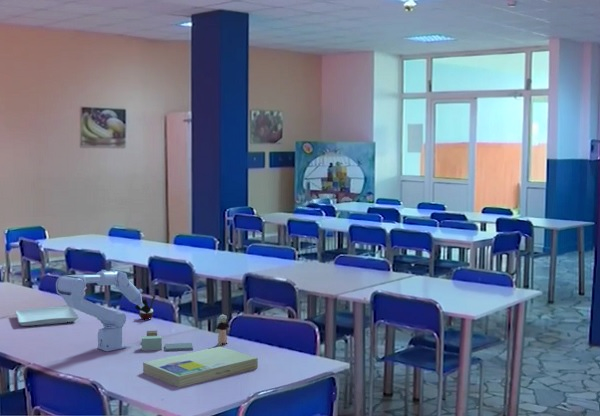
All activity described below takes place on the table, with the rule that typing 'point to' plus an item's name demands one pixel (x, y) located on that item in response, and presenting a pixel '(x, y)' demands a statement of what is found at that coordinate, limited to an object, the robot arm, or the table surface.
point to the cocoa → (149, 314)
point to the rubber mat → (178, 346)
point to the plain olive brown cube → (151, 333)
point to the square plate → (46, 316)
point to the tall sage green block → (151, 343)
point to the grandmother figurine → (222, 330)
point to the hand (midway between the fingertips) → (145, 306)
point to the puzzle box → (199, 366)
